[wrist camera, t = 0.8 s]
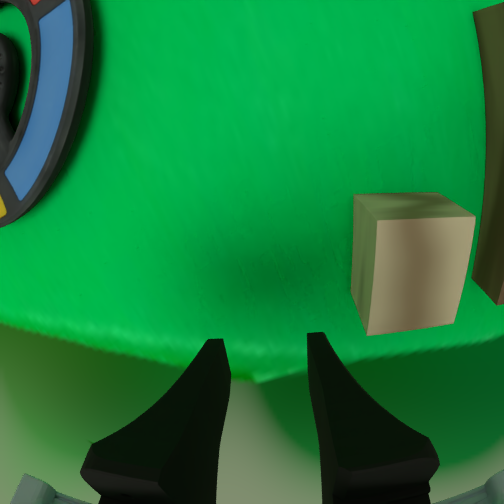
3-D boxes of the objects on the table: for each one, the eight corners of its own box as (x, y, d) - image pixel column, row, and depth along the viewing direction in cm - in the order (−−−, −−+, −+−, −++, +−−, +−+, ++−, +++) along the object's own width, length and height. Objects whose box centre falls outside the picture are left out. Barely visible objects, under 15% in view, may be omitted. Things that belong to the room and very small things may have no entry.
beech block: (436, 191, 19) (475, 216, 14) (425, 283, 22) (453, 323, 17) (353, 193, 19) (377, 220, 15) (350, 291, 22) (366, 335, 18)
